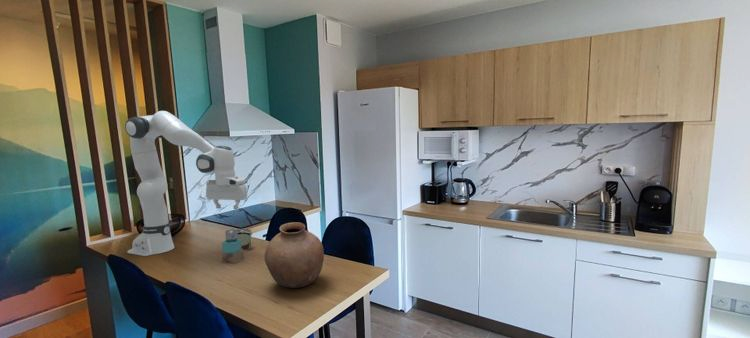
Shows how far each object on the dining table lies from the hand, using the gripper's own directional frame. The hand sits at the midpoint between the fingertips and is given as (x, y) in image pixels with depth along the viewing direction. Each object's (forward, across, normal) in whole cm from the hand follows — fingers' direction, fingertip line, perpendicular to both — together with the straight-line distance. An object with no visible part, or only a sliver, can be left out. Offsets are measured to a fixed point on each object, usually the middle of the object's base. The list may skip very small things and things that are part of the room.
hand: (227, 208), depth 172 cm
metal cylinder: (+15, +2, -1) cm, 16 cm away
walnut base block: (+25, +2, -1) cm, 25 cm away
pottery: (+25, +45, -22) cm, 56 cm away
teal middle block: (+20, +2, -1) cm, 20 cm away
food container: (+25, -3, +16) cm, 30 cm away
